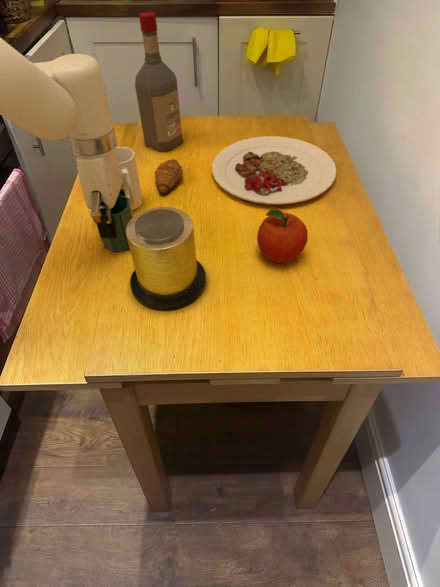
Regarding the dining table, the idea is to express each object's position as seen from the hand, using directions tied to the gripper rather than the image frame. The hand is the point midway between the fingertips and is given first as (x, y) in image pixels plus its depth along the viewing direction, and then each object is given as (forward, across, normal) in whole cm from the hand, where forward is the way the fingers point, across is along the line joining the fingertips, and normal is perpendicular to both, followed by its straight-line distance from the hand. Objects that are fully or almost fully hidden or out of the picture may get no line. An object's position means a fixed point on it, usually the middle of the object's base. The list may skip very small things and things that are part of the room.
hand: (114, 221), depth 81 cm
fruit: (+5, +3, +33) cm, 34 cm away
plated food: (+5, -26, +33) cm, 42 cm away
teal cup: (+5, 0, 0) cm, 5 cm away
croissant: (+5, -22, +8) cm, 24 cm away
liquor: (+5, -41, +4) cm, 41 cm away
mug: (+5, -12, 0) cm, 13 cm away
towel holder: (+5, +12, +12) cm, 17 cm away
